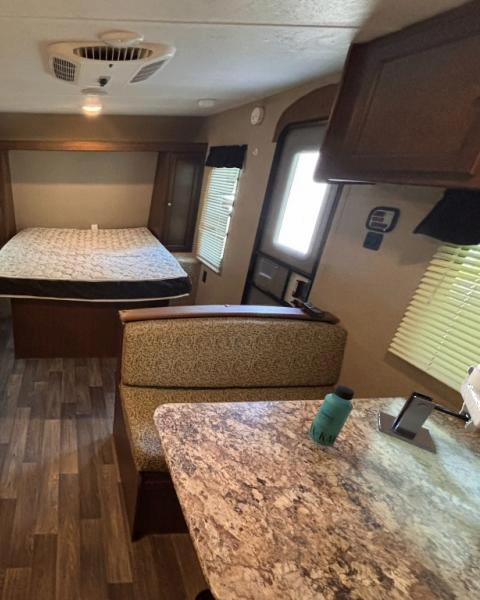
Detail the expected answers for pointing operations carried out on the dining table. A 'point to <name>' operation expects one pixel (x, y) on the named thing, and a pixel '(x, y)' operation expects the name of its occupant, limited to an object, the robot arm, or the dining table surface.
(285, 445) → the dining table surface
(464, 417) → the lever
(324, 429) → the beverage bottle
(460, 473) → the dining table surface
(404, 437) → the bracket
